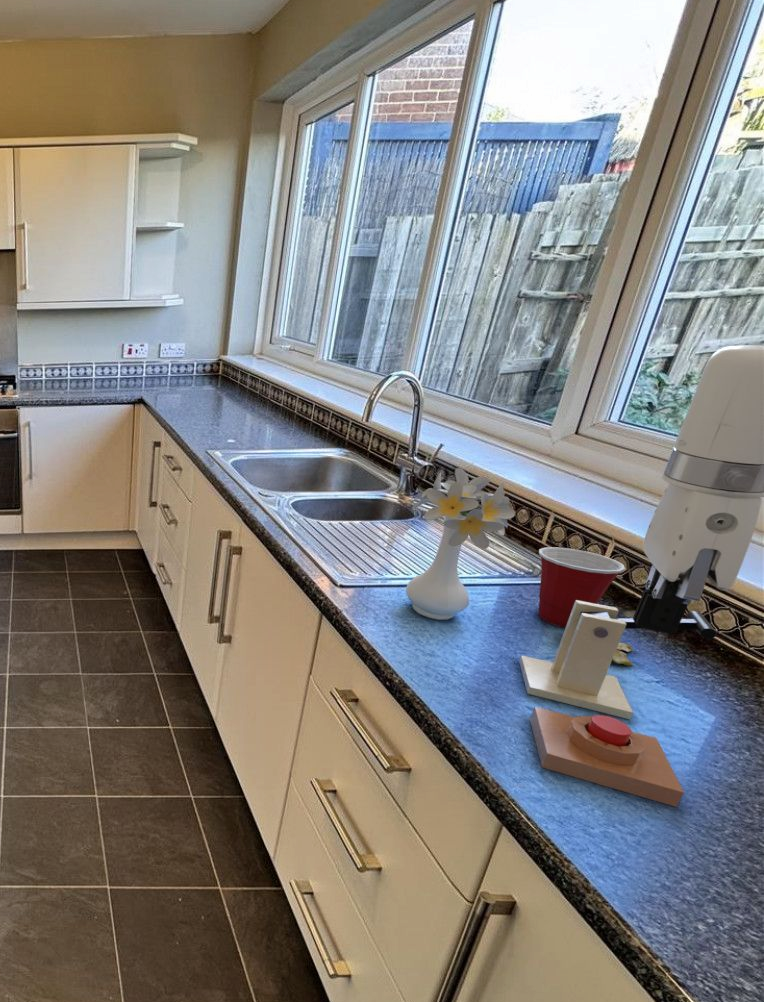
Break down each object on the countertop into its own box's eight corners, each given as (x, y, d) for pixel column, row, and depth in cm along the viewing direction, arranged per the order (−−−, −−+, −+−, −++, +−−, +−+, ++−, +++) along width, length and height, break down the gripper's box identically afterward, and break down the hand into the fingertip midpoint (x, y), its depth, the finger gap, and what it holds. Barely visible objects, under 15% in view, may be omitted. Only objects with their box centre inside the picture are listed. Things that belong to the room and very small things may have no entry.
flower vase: (413, 637, 102) (449, 495, 92) (380, 585, 118) (408, 460, 109) (503, 647, 99) (551, 501, 89) (456, 592, 115) (492, 464, 106)
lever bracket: (613, 683, 90) (644, 607, 85) (630, 719, 83) (666, 638, 78) (518, 661, 95) (543, 588, 90) (527, 693, 88) (554, 616, 83)
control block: (650, 751, 77) (662, 726, 76) (677, 807, 69) (690, 780, 68) (529, 719, 83) (538, 695, 82) (541, 767, 75) (551, 741, 74)
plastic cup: (589, 611, 108) (612, 549, 104) (610, 642, 99) (637, 576, 95) (513, 598, 113) (532, 538, 108) (526, 627, 104) (548, 563, 100)
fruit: (632, 671, 92) (641, 650, 91) (560, 650, 98) (567, 630, 96) (631, 647, 98) (639, 627, 97) (563, 628, 103) (570, 609, 102)
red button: (622, 732, 75) (627, 720, 75) (630, 750, 73) (635, 739, 72) (584, 722, 77) (588, 711, 76) (590, 739, 74) (595, 728, 74)
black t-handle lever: (702, 623, 81) (702, 607, 80) (716, 642, 77) (717, 625, 76) (578, 622, 88) (578, 607, 87) (586, 639, 84) (585, 623, 83)
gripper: (811, 500, 55) (726, 672, 61) (740, 458, 66) (676, 606, 73) (693, 487, 58) (626, 651, 65) (646, 449, 70) (593, 591, 77)
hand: (652, 627), depth 69 cm, fingers closed
